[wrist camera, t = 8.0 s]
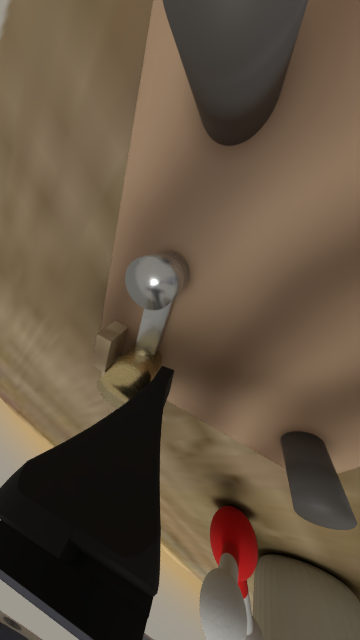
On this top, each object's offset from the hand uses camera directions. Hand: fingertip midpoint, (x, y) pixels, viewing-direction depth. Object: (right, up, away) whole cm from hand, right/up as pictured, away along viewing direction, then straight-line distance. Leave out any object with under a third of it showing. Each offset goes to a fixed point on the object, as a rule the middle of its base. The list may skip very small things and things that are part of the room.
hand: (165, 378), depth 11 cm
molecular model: (+8, -22, +12) cm, 27 cm away
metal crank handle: (-1, +4, 0) cm, 4 cm away
